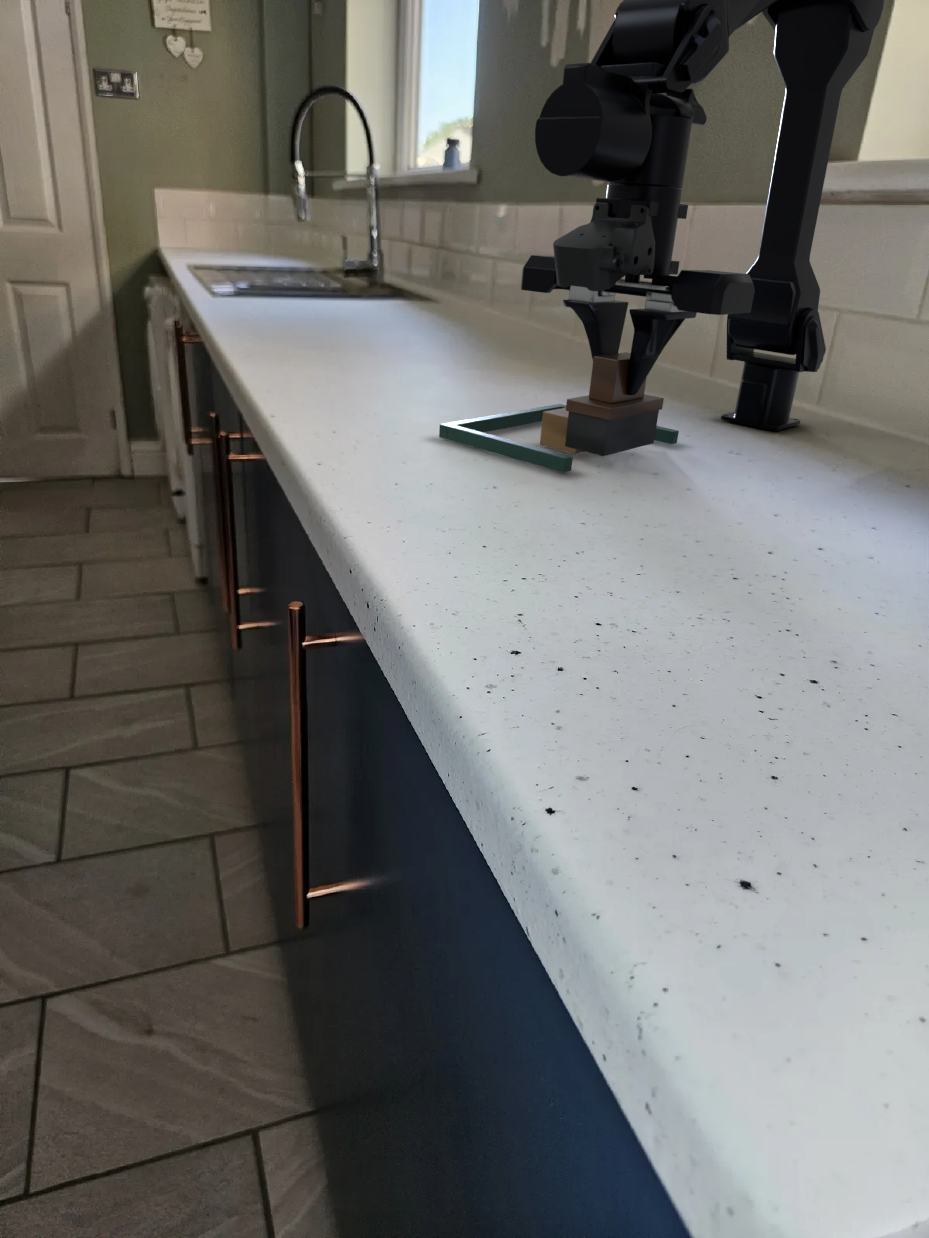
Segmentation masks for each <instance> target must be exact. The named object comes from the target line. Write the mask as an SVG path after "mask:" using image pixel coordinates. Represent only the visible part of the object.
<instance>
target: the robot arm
mask: <svg viewBox="0 0 929 1238" xmlns="http://www.w3.org/2000/svg"><path fill="white" fill-rule="evenodd" d="M884 4H885V0H622V1H621V2H620V3H619V5H618V6H617V8H616V9H615V12H614V18H615V19H614V20H613V22H612V23H611V25H610V27H609V29H608V31H607V32H606V35H605V36H604V38H603V39H602V42H601V43H600V45H599V47H598V48H597V50H596V52H595V54H594V56H593V58H592V59H591V61H590V62H579V63H578V62H577V63H567V64H566V65H565V66H564V69H563V78H562V79H563V80H562V84H561V85H559V86H558V87H557V88H556V89H554V91H552V92H551V94H550V95H549V96H548V97H547V99H546V101H545V103H544V105H543V106H542V109H541V111H540V115H539V117H538V118H537V120H536V121H535V129H534V143H535V149H536V153H537V156H538V158H539V160H540V163H541V164H542V165H543V167H544V168H545V169H546V170H547V171H548V172H550V174H553V175H556V176H559V177H563V178H564V177H565V178H572V179H580V180H581V179H582V180H589V181H597V182H605V183H607V187H606V195H605V198H604V197H603V198H602V197H596V198H595V201H596V202H595V204H593V207H592V215H591V219H590V222H588V223H587V224H583V225H580V226H577V227H576V228H574V229H571V231H569V232H567V233H565V234H564V235H562V236H560V237H559V238H557V239H555V240H553V242H552V247H553V255H542V254H541V255H540V254H531V255H530V256H529V258H528V259H527V261H526V262H525V264H524V266H522V270H521V280H520V290H521V291H528V292H534V293H542V294H550V293H551V292H552V291H553V290H565V291H568V298H567V299H562V303H563V306H564V307H566V308H570V309H571V310H572V311H573V312H574V313H575V314H576V316H577V318H579V320H580V321H581V323H582V325H583V328H584V331H585V334H586V337H587V341H588V346H589V351H590V354H591V360H593V358H594V356H598V355H606V354H615V353H619V350H620V346H621V341H622V337H623V331H624V327H625V322H626V316H627V312H629V315H630V318H631V319H630V320H631V322H632V325H633V337H632V343H631V347H630V353H631V354H630V361H629V367H628V373H627V388H626V394H627V395H630V396H631V395H636V394H637V392H638V391H639V389H640V387H641V385H642V384H643V382H644V380H645V379H646V380H647V378H648V376H649V374H650V372H651V371H652V368H653V367H654V366H655V364H656V362H657V361H658V358H659V357H660V355H661V354H662V352H663V350H664V349H665V348H666V346H667V345H668V343H669V341H670V340H671V339H672V338H673V336H674V335H675V334H676V332H677V331H678V329H679V328H680V327H681V326H682V324H683V323H684V322H685V320H686V319H696V318H697V314H705V315H716V316H725V315H727V316H726V360H729V361H739V362H743V368H742V373H741V378H740V381H739V382H740V383H739V386H738V387H739V388H738V392H737V398H736V402H735V403H736V404H735V409H734V411H732V412H728V413H724V414H721V415H720V420H722V421H725V422H726V421H727V422H731V423H736V424H741V425H746V426H750V427H756V428H760V429H764V430H769V431H777V432H778V431H780V430H781V431H782V430H784V429H788V428H791V427H796V426H798V425H800V424H801V421H802V420H801V419H798V418H794V417H790V416H791V412H792V408H793V403H794V400H795V399H794V398H795V394H796V389H797V384H798V382H799V381H798V380H799V376H800V373H805V372H807V373H817V372H818V370H820V369H821V365H822V363H823V361H824V357H825V354H826V352H827V347H826V343H825V336H824V332H823V327H822V322H821V317H820V313H819V305H820V297H821V288H820V285H819V282H818V280H817V277H816V275H815V272H814V270H813V267H812V264H811V261H810V260H811V252H812V247H813V241H814V238H815V232H816V227H817V226H816V225H817V221H818V217H819V216H818V215H819V210H820V206H821V201H822V195H823V190H824V185H825V179H826V174H827V169H828V163H829V159H830V153H831V149H832V143H833V138H834V132H835V127H836V122H837V117H838V111H839V106H840V101H841V98H842V97H841V96H842V92H843V89H844V88H845V87H846V85H847V83H849V82H850V80H851V78H852V77H853V76H854V74H855V73H856V71H857V70H858V69H859V67H860V66H861V65H862V63H863V62H864V61H865V59H866V58H867V56H868V54H869V51H870V47H871V44H872V39H873V36H874V32H875V29H876V27H877V26H878V24H879V22H880V20H881V17H882V13H883V10H884ZM761 13H762V15H763V16H764V18H765V20H766V21H767V22H768V24H769V25H770V26H771V28H772V29H773V31H774V32H775V34H774V47H773V57H774V60H775V62H776V66H777V68H778V71H779V73H780V76H781V79H782V82H783V84H784V87H785V93H784V99H783V105H782V111H781V117H780V124H779V129H778V136H777V142H776V148H775V154H774V160H773V164H772V165H773V166H772V172H771V178H770V183H769V188H768V189H769V190H768V195H767V202H766V207H765V213H764V219H763V224H762V225H763V226H762V231H761V236H760V237H761V238H760V244H759V250H758V254H757V258H756V260H755V261H754V263H752V265H751V267H750V268H749V269H748V271H747V272H746V273H743V272H733V271H722V270H711V269H680V272H679V267H680V260H672V259H673V253H674V246H675V239H676V233H677V228H678V227H677V226H678V220H680V219H681V220H686V219H687V215H688V209H689V204H685V203H684V204H683V203H681V200H682V193H683V188H684V187H683V186H684V181H685V173H686V168H687V167H686V166H687V161H688V154H689V148H690V141H691V133H692V127H693V126H704V125H705V124H706V123H707V121H708V117H707V113H706V112H705V109H704V107H703V106H702V105H701V104H700V103H699V101H698V100H697V98H696V95H695V91H694V89H693V88H691V87H690V86H691V85H692V84H697V83H700V82H702V81H704V80H705V79H706V78H707V77H708V76H709V75H710V74H711V73H712V72H713V70H715V68H716V67H717V66H718V65H719V64H720V63H721V61H722V60H723V59H724V58H725V57H726V55H727V54H728V53H729V51H730V38H731V36H732V35H733V34H734V33H735V32H736V31H737V30H738V29H739V28H741V27H742V26H744V25H745V24H747V23H748V22H750V21H751V20H753V19H754V18H755V17H757V16H758V15H759V14H761ZM689 87H690V88H689ZM641 276H643V279H647V280H651V281H645V280H641ZM616 294H619V295H627V296H636V297H644V298H645V302H644V307H643V308H630V309H629V311H628V307H629V301H622V300H616ZM755 350H758V351H763V352H769V353H763V352H758V351H755ZM770 352H771V353H777V354H783V355H788V356H795V357H788V356H782V355H776V354H770ZM646 377H647V378H646Z"/></svg>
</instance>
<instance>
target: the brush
mask: <svg viewBox="0 0 929 1238" xmlns="http://www.w3.org/2000/svg"><path fill="white" fill-rule="evenodd" d="M630 354H631V352H628V351H625V352H624V351H623V352H618V353H615V354H606V355H598V356H594V358H593V359H592V367H591V376H590V384H589V390H588V391H589V393H588V395H582V396H577V397H570V398H567V399H566V404H565V405H566V411H569V414H568V423H567V432H566V441H565V447H569V448H573V449H577V450H581V451H585V452H584V453H589V454H593V455H597V456H601V457H606V456H610V455H614V454H617V453H621V452H625V451H629V450H634V449H636V448H637V449H638V448H640V447H644V446H645V447H646V446H649V445H652V444H655V440H654V439H655V432H656V426H658V420H659V413H660V411H661V410H663V406H664V402H665V401H664V400H665V397H661V396H655V395H651V394H650V395H649V394H645V392H646V386H647V385H646V384H647V378H648V376H647V377H646V379H645V380H644V382H643V384H642V385H641V387H640V389H639V391H638V392H637V394H636V395H631V396H630V395H627V394H626V388H627V373H628V367H629V361H630Z"/></svg>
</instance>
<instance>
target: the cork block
mask: <svg viewBox="0 0 929 1238" xmlns="http://www.w3.org/2000/svg"><path fill="white" fill-rule="evenodd" d="M568 414H569V411H566V408H561V409H555V410H550V411H544V412H543V417H542V422H541V428H540V429H541V430H540V437H539V445H540V446H543V447H546V448H550V449H554V450H557V451H561V452H565V453H569V454H573V455H577V454H582V453H586V452H585V451H581V450H577V449H573V448H569V447H565V441H566V432H567V423H568Z"/></svg>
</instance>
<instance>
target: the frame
mask: <svg viewBox="0 0 929 1238" xmlns="http://www.w3.org/2000/svg"><path fill="white" fill-rule="evenodd" d="M561 408H566V404H563V403H556V404H551V405H550V404H549V405H544V406H537V407H533V408H527V409H521V410H520V409H519V410H516V411H515V410H513V411H510V412H504V413H497V414H492V415H485V416H480V417H479V416H478V417H473V418H468V419H461V420H456V421H450V422H444V423H439V429H438V430H439V431H438V433H439V434H438V437H439V438H440V439H444V440H448V441H451V442H455V443H458V444H461V445H465V446H468V447H472V448H476V449H479V450H483V451H487V452H490V453H493V454H497V455H500V456H504V457H507V458H510V459H514V460H518V461H521V462H525V463H529V464H532V465H535V466H539V467H543V468H546V469H548V470H549V469H550V470H554V471H556V472H561V473H564V474H565V473H568V472H571V471H572V468H573V460H574V457H573V456H572V455H569V454H565V453H560V452H557V451H553V450H549V449H546V448H542V447H538V446H534V445H531V444H528V443H524V442H519V441H516V440H512V439H508V438H505V437H501V436H497V435H495V434H490V433H488V432H494V431H498V430H504V429H510V428H515V427H521V426H525V425H530V424H531V425H532V424H536V423H542V417H543V412H544V411H550V410H555V409H561ZM679 432H680V431H679V430H676V429H673V428H670V427H669V428H668V427H665V426H664V427H663V426H660V425H657V426H656V432H655V439H654V442H655V441H656V442H660V443H663V444H667V445H674V444H675V445H676V444H677V443H678V439H679Z"/></svg>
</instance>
